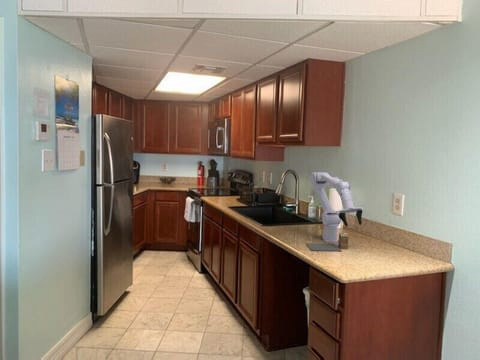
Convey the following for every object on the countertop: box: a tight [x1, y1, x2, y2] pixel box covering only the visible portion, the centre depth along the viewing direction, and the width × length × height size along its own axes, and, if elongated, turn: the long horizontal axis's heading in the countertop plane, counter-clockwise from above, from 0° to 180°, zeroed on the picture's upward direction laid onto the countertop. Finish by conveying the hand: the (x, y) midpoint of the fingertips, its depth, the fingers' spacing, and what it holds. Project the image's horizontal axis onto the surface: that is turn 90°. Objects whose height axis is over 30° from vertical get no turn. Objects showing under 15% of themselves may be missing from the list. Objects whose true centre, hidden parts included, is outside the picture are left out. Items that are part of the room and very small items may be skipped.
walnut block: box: [337, 232, 350, 250], centre depth 205 cm, size 4×4×8 cm
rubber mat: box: [305, 242, 342, 253], centre depth 205 cm, size 14×16×1 cm
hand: (353, 225), depth 203 cm, fingers open, 7 cm apart
